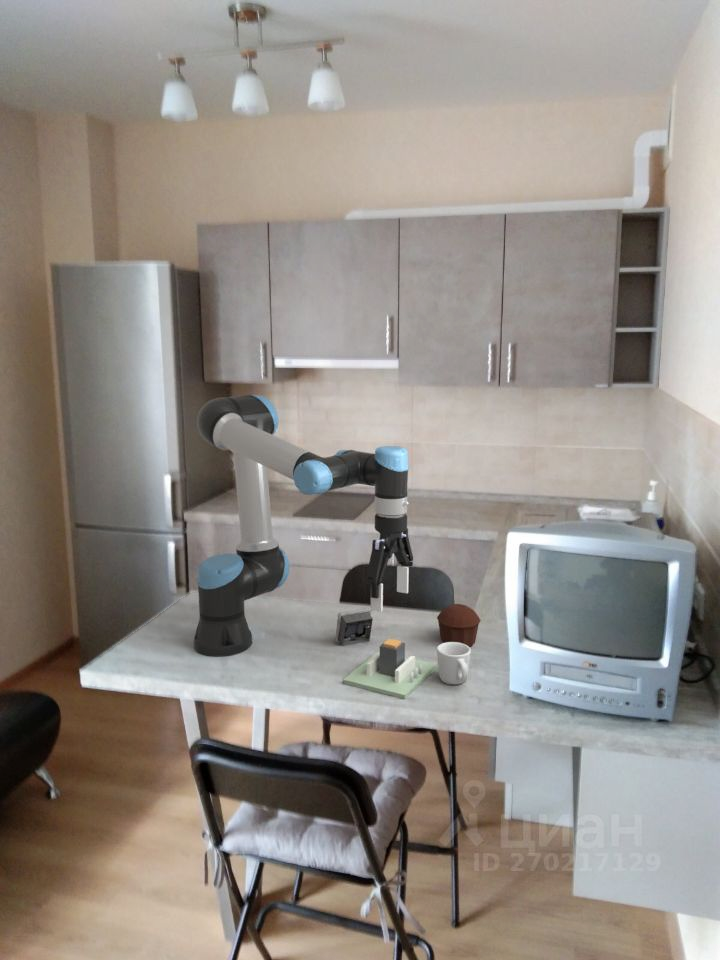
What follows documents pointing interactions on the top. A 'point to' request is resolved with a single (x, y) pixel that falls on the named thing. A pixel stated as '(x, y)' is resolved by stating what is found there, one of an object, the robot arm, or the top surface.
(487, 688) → the top surface
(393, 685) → the board
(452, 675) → the cup
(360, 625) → the electrical switch
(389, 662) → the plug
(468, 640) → the muffin
